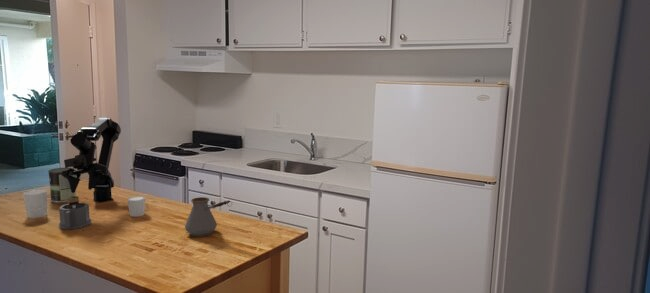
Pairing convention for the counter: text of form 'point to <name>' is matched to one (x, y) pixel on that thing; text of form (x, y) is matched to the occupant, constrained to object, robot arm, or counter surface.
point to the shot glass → (136, 206)
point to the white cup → (36, 203)
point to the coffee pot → (202, 217)
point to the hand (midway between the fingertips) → (81, 191)
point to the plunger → (73, 201)
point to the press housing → (74, 216)
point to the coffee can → (59, 186)
